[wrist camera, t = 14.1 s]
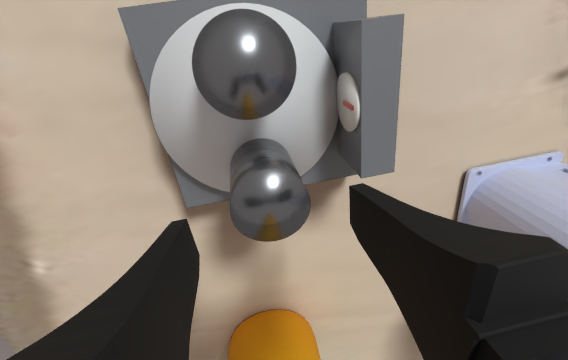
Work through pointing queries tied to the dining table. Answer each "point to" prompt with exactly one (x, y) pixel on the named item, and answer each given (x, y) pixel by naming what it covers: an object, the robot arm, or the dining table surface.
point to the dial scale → (297, 107)
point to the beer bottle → (274, 338)
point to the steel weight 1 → (244, 64)
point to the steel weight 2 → (266, 191)
